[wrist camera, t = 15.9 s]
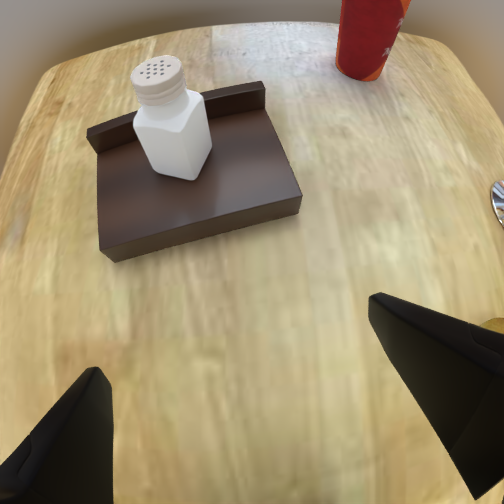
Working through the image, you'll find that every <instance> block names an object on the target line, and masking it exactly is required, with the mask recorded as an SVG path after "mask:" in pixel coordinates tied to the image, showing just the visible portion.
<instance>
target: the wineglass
mask: <svg viewBox="0 0 504 504" xmlns="http://www.w3.org/2000/svg"><path fill="white" fill-rule="evenodd" d="M491 200H492V205H493V208H494V211H495V213H496V215H497V217H498V219H499V221H500V223H501V224H502V226H503V227H504V180H499V181H496V182H495V183H494V184H493V186H492V189H491Z"/></svg>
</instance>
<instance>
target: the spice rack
mask: <svg viewBox="0 0 504 504" xmlns="http://www.w3.org/2000/svg"><path fill="white" fill-rule="evenodd" d="M199 94H200V95H202V96H203V99H204V105H205V110H206V115H207V120H208V126H209V131H210V136H211V141H212V148H211V150H210V152H209V154H208V156H207V158H206V160H205V162H204V164H203V166H202V168H201V170H200V173H199V175H198V177H197V178H196V179H195V180H187V179H182V178H178V177H174V176H169V175H165V174H160V173H158V172H156V171H155V170H154V169H153V168H152V165H151V163H150V161H149V159H148V157H147V155H146V153H145V151H144V149H143V147H142V145H141V143H140V140H139V138H138V136H137V134H136V132H135V130H134V128H133V121H134V118H135V116H136V114H137V112H138V111H135V112H132V113H129V114H126V115H123V116H120V117H117V118H115V119H112V120H109V121H106V122H104V123H101V124H98V125H96V126H93V127H91V128H88V129H87V136H86V138H87V140H88V141H89V143H90V144H91V146H92V147H93V149H94V150H95V152H96V153H97V212H98V233H99V248H100V251H101V252H102V253H103V254H105V255H106V256H107V257H108V258H110V259H111V260H112V261H113V262H115V263H116V262H119V261H123V260H126V259H130V258H133V257H137V256H140V255H144V254H147V253H151V252H154V251H158V250H162V249H165V248H169V247H172V246H176V245H180V244H183V243H187V242H191V241H194V240H198V239H202V238H205V237H209V236H213V235H217V234H221V233H224V232H228V231H232V230H236V229H240V228H243V227H247V226H251V225H255V224H259V223H263V222H267V221H271V220H275V219H279V218H283V217H287V216H291V215H295V214H298V212H299V208H300V204H301V200H302V196H303V195H302V193H301V190H300V188H299V185H298V183H297V180H296V178H295V176H294V173H293V171H292V168H291V166H290V164H289V161H288V159H287V157H286V154H285V152H284V150H283V147H282V145H281V143H280V141H279V138H278V136H277V134H276V132H275V129H274V127H273V125H272V123H271V120H270V118H269V116H268V114H267V112H266V110H265V87H264V85H263V83H262V81H257V82H251V83H245V84H240V85H234V86H229V87H224V88H220V89H215V90H211V91H206V92H202V93H199Z"/></svg>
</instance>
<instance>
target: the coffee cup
mask: <svg viewBox="0 0 504 504" xmlns="http://www.w3.org/2000/svg"><path fill="white" fill-rule="evenodd" d="M410 1H411V0H342V7H341V16H340V25H339V34H338V43H337V52H336V66H337V68H338V69H339V70H340V71H341V72H342V73H344V74H345V75H347V76H349V77H351V78H353V79H356V80H361V81H373V80H376V79H377V78H378V77H379V75H380V73H381V71H382V69H383V67H384V65H385V62H386V60H387V58H388V55H389V53H390V51H391V48H392V46H393V44H394V41H395V39H396V36H397V34H398V31H399V29H400V26H401V24H402V21H403V19H404V16H405V14H406V11H407V9H408V6H409V4H410Z"/></svg>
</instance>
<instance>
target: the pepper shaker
mask: <svg viewBox="0 0 504 504" xmlns="http://www.w3.org/2000/svg"><path fill="white" fill-rule="evenodd" d="M183 72H184V71H183V67H182V63H181V62H180V61H179V59H178V58H177V57H172V56H168V55H167V56H158V57H154V58H151V59H149V60H146V61H144V62H142V63H141V64H140V65H139V66H137V67H136V68H135V69H134V70H133V72H132V74H131V76H130V79H131V81H132V84H133V87H134V89H135V92H136V94H137V97H138V101H139V103H140V104H141V107H140V108H139V110H138V112H137V114H136V116H135V118H134V121H133V128H134V130H135V132H136V134H137V136H138V138H139V140H140V143H141V145H142V147H143V149H144V151H145V153H146V155H147V157H148V159H149V161H150V163H151V165H152V168H153V169H154V170H155V171H156V172H158V173H160V174H165V175H169V176H174V177H178V178H182V179H187V180H195V179H196V178H197V177H198V175H199V173H200V170H201V168H202V166H203V164H204V162H205V160H206V158H207V156H208V154H209V152H210V150H211V148H212V141H211V136H210V131H209V126H208V120H207V115H206V110H205V105H204V99H203V96H202V95H200V94H199V93H198V92H195V91H191V90H188V89H186V86H187V85H186V80H185V76H184V73H183Z"/></svg>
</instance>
